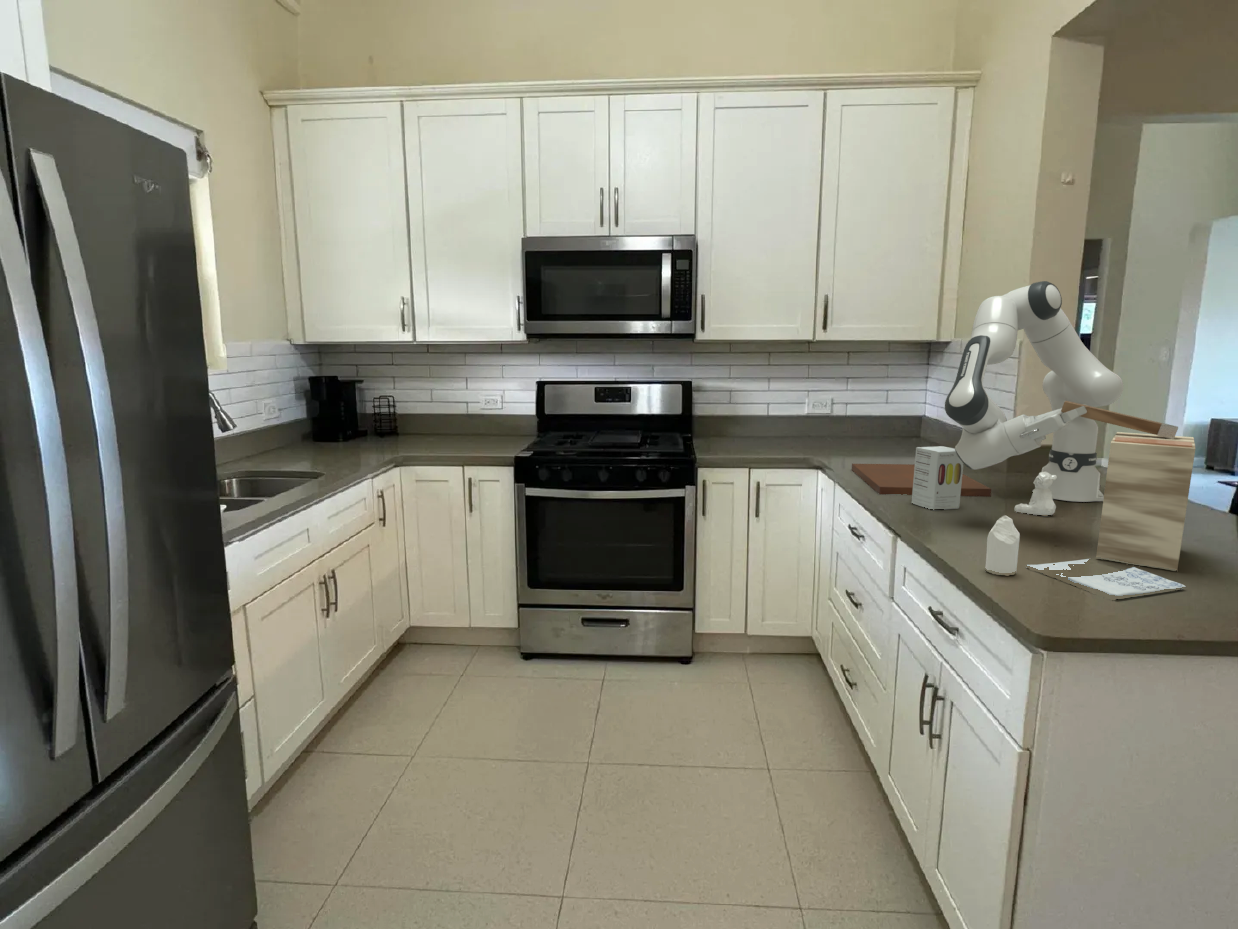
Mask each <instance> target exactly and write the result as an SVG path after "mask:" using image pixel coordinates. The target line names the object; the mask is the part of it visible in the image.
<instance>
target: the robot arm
mask: <svg viewBox="0 0 1238 929" xmlns="http://www.w3.org/2000/svg"><path fill="white" fill-rule="evenodd" d="M1062 304H1063V298H1062V295H1061V292H1060V290H1059V288H1058V287H1057V286H1056V285H1055V284H1054V283H1052V282H1049V281H1047V280H1043V281H1036V282H1033V283H1031V284H1028V285H1027V286H1022V287H1019V288H1015V289H1013V290H1010V291H1009V292H1007V293H1004V294H1003V295H994V296H990V297H988V298H986V299H984V300H983V301H981V303H980V305H979V306H978V310H977V311H976V314H975V317H974V320H973V325H972V328H971V335H970V339H969V340H968V341H967V343H966V345H965V346H964V349H963V352H962V356H961V359H960V362H959V367H958V370H957V372H956V377H955V381H954V383H953V385H952V387H951V389H950V390H949V392H948V393H947V394H948V395H947V396H946V398H945V401H944V411H945V413H946V416H948V417H949V418H950V419H951V420H953V421H954V422H956V423H957V424H958V425H959V426H960V427H961V428H962V431H961V436H960V439H959V440H958V442H957V444H955V447H954V449H955V451H956V454H957V455H958V457H959V458H960V460H961V461H962V462H963V463H964V464H963V465H965V467H967V468H968V469H970V470H981V469H984V468H989V467H992V466H994V465H997V464H999V463H1002V462H1004V461H1006V460H1007V459H1009V458H1010V457H1013V456H1020V455H1023V454H1025V453H1028V452H1031V451H1033V450H1036V449H1038V448H1040V447H1041V446H1042V441H1044V440H1046V439H1047V437H1046V436H1047V435H1049V434H1052V433H1053V434H1052V446H1051V449H1050V450H1049V453H1048V463H1047V464H1046V465H1044V466H1042V469H1041V472H1048V473H1049V474H1051V475H1056V476H1057V478H1056V479H1055V480H1053V483H1052V484H1051V486H1049V487H1048V489H1050V490H1051V492H1052V499H1053V500H1059V501H1065V502H1066V501H1067V502H1080V503H1082V502H1083V503H1085V502H1086V503H1087V502H1088V503H1089V502H1103V500H1104V493H1103V492H1101V490H1100V489H1101V484H1100V478H1101V472H1100V471H1099V470H1098V468H1096V465H1097V460H1098V452H1096V449H1097V444H1098V443H1097V442H1098V435H1099V434H1098V433H1099V426H1098V423H1097V422H1096V420H1093V419H1089V418H1084V417H1080V415H1083V414H1085V413H1087V409H1086V407H1085V406H1081V407H1079V408H1076V409H1074V410H1071V411H1068V412H1065V413H1064V412H1061V410H1062V407H1063V404H1064V402H1065V401H1070V402H1074V403H1079V404H1083V405H1087V406H1091V407H1096V408H1099V407H1104V406H1110V405H1112V404H1114V403H1116V402H1117V401H1118V400H1119V399H1120V398H1121V396H1122V394H1123V391H1124V383H1123V380H1122V378H1121V377H1120V376H1119V375H1118V374H1117V373H1115V372H1113V371H1112V370H1111V369H1109V368H1108V367H1106V365H1104V364H1103V363H1102V362H1101V361H1100V360H1099V359H1098V358H1097V357H1096V356H1095V355H1094V354H1093V353H1092V352H1091V351H1090V350H1089V349H1088V348H1087V346H1085V344H1084V342H1082V340H1081V338H1080V336H1079V334H1078V333H1077V332H1076V330H1075V328H1074V326H1073V324H1072V323H1071V321H1070V319H1069V318H1068V316H1067V315H1066V313H1065V312H1064V309H1062ZM1020 330H1023V331H1024V334H1025V335H1026V338H1027V339H1028V341H1029V342H1030V345H1031V347H1032V348H1033V350H1034V352H1035V353H1036V355H1037V357H1038V359H1039V360H1040V362H1041V363H1042V365H1044V366H1045V367H1047V368H1048V369H1049V370H1050V371H1049V372H1048V373H1046V374H1045V376H1044V378H1043V381H1042V391H1043V393H1044V394H1045V395H1046V397H1047V399H1048V400H1049V403H1050V408H1051V410H1050V411H1047V412H1045V413H1041V414H1039V415H1026V414H1021V415H1018V416H1015V417H1013V418H1011V419H1008V420H1007V417H1006V414H1005V412H1004V410H1002V408H1001V407H1000V406H999V405H998V404H997V403H995V401H994V400H993V399H992V398H991V397H990V396H989V395H988V394H987V392H986V389H985V388H984V384H983V383H984V379H985V378H984V377H985V374H986V370H987V366H989V365H997V364H1000V363H1003V362H1005V361H1007V360H1008V359H1010V357H1012V355H1013V354H1014V351H1015V349H1016V345H1017V341H1018V331H1020ZM1034 490H1035V488H1034V489H1032V491H1031V492H1033V491H1034Z"/></svg>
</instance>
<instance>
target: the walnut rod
mask: <svg viewBox="0 0 1238 929" xmlns="http://www.w3.org/2000/svg"><path fill="white" fill-rule="evenodd" d="M1081 406H1085V407H1086V409H1087V413H1085V414H1083V415H1080V417H1084V418H1089V419H1093V420H1094V421H1097V422H1101V423H1105V424H1110V425H1112V426H1113V425H1114V426H1118V427H1122V428H1126V429H1130V430H1135V431H1137V432H1142V433H1145V434H1153V435H1157V436H1162V437H1166V438H1170V439H1174V437H1175V436H1177V432H1178V429H1179V426H1177V425H1173V424H1168V423H1165V422H1160V421H1155V420H1151V419H1147V418H1146V419H1145V418H1142V417H1137V416H1134V415H1129V414H1125V413H1120V412H1117V411H1116V412H1115V411H1112V410H1108V409H1104V408H1099V407H1091V406H1087V405H1083V404H1079V403H1074V402H1070V401H1065V402H1064V404H1063V407H1062V410H1061V412H1064V413H1065V412H1068V411H1071V410H1074V409H1076V408H1079V407H1081Z"/></svg>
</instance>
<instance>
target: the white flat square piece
mask: <svg viewBox="0 0 1238 929" xmlns="http://www.w3.org/2000/svg"><path fill="white" fill-rule="evenodd" d="M1089 559H1090V558H1085V559H1078V560H1076V559H1075V560H1069V561H1068V560H1067V561H1060V562H1050V563H1039V564H1026V565H1027V566H1030V567H1033V568H1036V569H1038V570H1044V568H1047V567H1049V570H1063V569H1064V570H1066V569H1067V570H1071V568H1070V567H1069V566H1068V564H1085V563H1084V562H1087V561H1088V560H1089ZM1053 564H1055V565H1053ZM1073 566H1074V565H1073ZM1122 570H1123V571H1118V572H1113V573H1108V574H1102V575H1093V576H1081V577H1068V580H1070V581H1072V582H1074V583H1079V584H1081V585H1084V586H1087V587H1090V588H1093V589H1098V590H1100V591H1103V592H1105V593H1107V594H1109V595H1115V596H1123V595H1135V594H1143V593H1150V592H1155V591H1160V590H1164V589H1176V588H1182V587H1186V585H1184V584H1182V583H1180V582H1177V581H1174V580H1170V579H1167V578H1166V577H1164V576H1163V577H1162V576H1160V575H1157V574H1154V573H1152V572H1148V571H1147V570H1143V569H1139V568H1137V567H1136V566H1132V567H1130V568H1126V569H1122ZM1062 574H1063V573H1061V575H1060V576H1061V577H1066V576H1063V575H1062ZM1056 575H1059V574H1056ZM1186 588H1187V587H1186ZM1182 589H1183V588H1182Z"/></svg>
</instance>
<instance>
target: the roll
mask: <svg viewBox="0 0 1238 929" xmlns="http://www.w3.org/2000/svg"><path fill="white" fill-rule="evenodd" d="M1020 537H1021V535H1020V532H1019V531H1018V529H1017V528H1016V526H1015V524H1014V520H1013V518H1011V517H1009V516H1007V515H1002V516H1001V517H999V518H998V519H997V520H996V522H995V523H994V525H993V526H992V528H991V530H990V531H989V532H988V534H987V539H986V556H985V557H986V558H985V568H986V569H987V570H992V571H995V572H999V573H1012V572H1015V571H1016V572H1017V569H1018V568H1017V566H1018V558H1019V547H1020Z"/></svg>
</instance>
